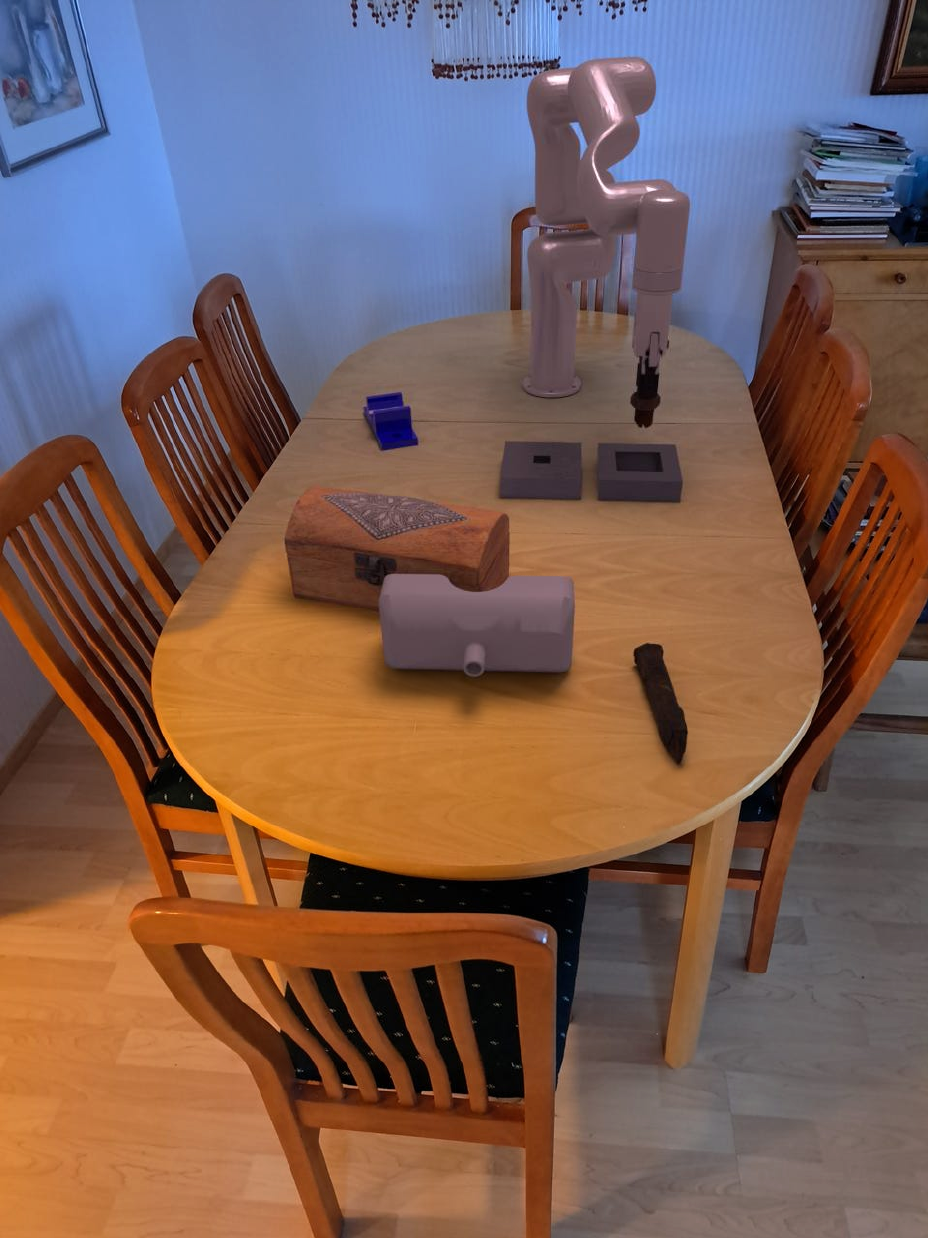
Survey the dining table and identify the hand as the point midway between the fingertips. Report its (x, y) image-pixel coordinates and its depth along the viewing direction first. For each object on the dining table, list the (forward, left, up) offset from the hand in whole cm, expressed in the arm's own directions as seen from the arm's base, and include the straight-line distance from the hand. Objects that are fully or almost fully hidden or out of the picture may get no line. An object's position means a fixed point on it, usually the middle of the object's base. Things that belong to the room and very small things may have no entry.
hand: (646, 390), depth 150 cm
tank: (+52, -24, -18) cm, 60 cm away
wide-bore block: (0, 0, -17) cm, 17 cm away
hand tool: (+60, 0, -18) cm, 62 cm away
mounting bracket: (-20, -48, -18) cm, 55 cm away
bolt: (0, 0, -6) cm, 6 cm away
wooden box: (+35, -37, -18) cm, 54 cm away
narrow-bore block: (0, -17, -17) cm, 24 cm away
